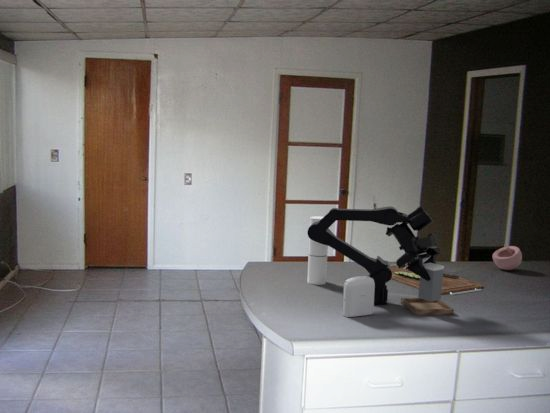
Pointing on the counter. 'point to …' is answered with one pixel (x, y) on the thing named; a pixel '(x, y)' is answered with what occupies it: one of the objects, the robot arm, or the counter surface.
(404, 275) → the chopping board
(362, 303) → the white tombstone-shaped block
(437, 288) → the grey upright rectangular prism
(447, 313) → the walnut tray
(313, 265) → the cylindrical container
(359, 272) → the counter surface
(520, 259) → the pink round bowl
